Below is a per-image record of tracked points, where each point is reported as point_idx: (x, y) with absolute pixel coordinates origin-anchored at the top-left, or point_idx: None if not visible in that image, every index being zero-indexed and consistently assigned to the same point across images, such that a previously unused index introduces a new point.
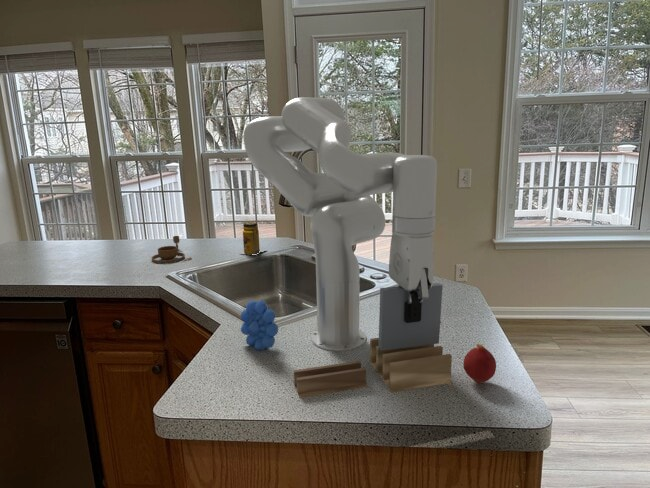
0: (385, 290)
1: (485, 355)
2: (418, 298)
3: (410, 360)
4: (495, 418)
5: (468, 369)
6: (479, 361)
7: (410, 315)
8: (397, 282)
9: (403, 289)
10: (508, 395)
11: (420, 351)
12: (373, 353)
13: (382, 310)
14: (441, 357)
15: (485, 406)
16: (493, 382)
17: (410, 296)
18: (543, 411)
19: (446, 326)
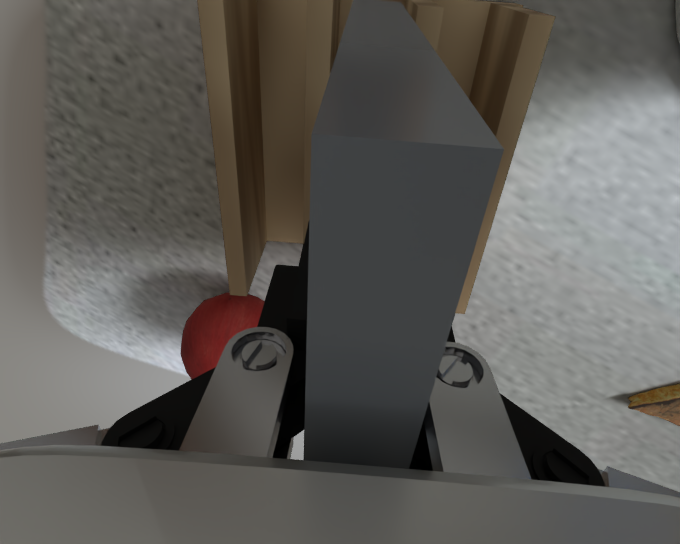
0: (315, 192)
1: (192, 376)
2: (79, 431)
3: (225, 120)
4: (73, 243)
5: (217, 303)
6: (188, 346)
7: (282, 275)
8: (356, 498)
9: (307, 434)
10: (175, 326)
11: (304, 210)
12: (500, 20)
13: (340, 45)
14: (226, 256)
15: (130, 253)
16: None
17: (205, 402)
18: (101, 346)
19: (580, 399)
